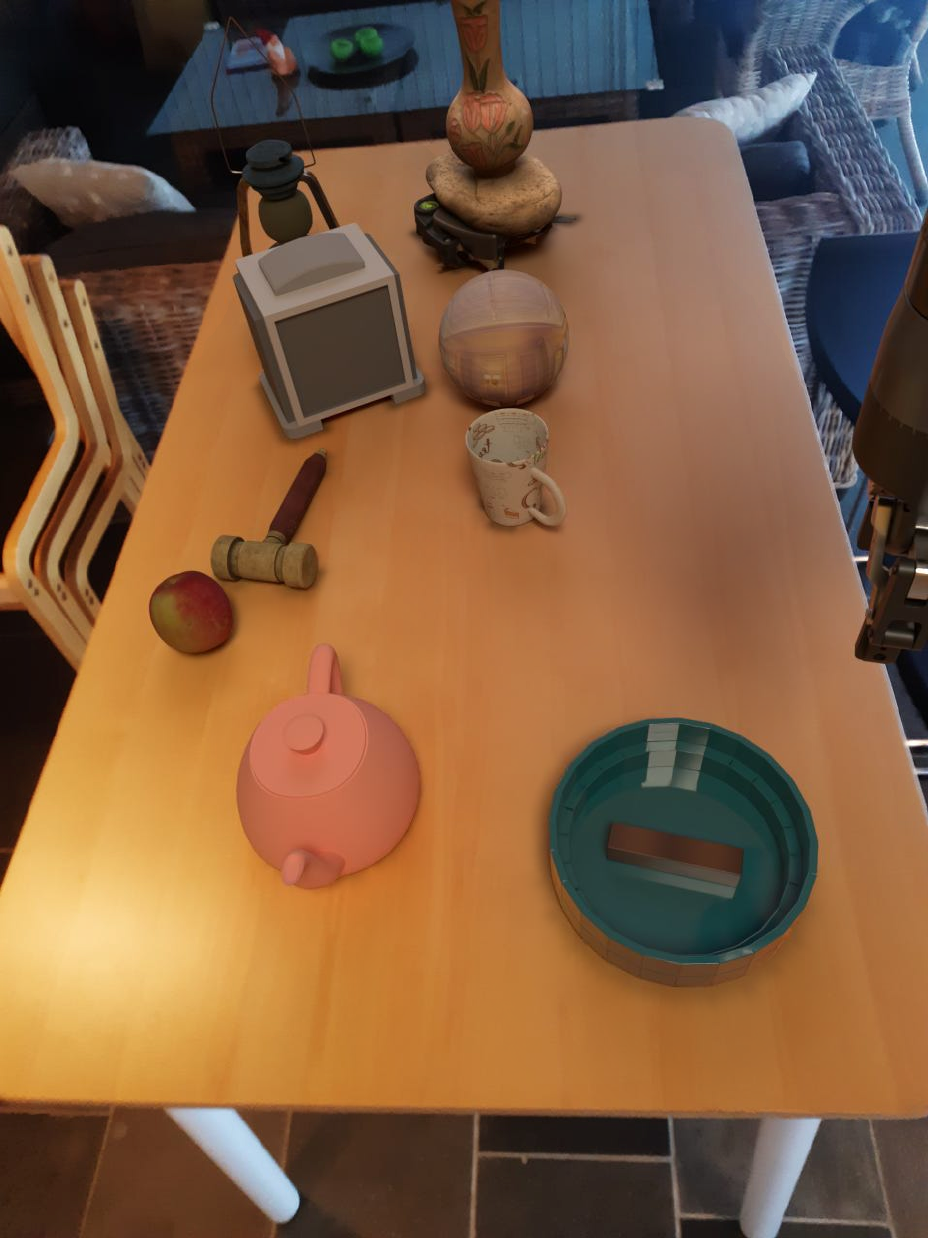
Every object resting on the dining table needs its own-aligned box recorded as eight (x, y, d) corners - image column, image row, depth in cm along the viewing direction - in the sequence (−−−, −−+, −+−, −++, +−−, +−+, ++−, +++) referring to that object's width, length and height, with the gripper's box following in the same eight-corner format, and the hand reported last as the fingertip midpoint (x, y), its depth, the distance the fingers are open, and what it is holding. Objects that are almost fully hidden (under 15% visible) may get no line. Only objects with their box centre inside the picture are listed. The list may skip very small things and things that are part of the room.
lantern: (361, 273, 127) (302, -11, 100) (353, 320, 120) (287, 29, 93) (266, 281, 129) (181, 3, 101) (252, 328, 121) (157, 43, 94)
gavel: (279, 430, 102) (360, 436, 100) (288, 461, 105) (367, 468, 103) (204, 556, 89) (296, 566, 87) (218, 587, 92) (306, 597, 90)
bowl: (806, 778, 72) (822, 742, 68) (794, 1020, 62) (812, 996, 57) (576, 735, 77) (576, 699, 72) (526, 953, 66) (523, 926, 61)
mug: (513, 469, 99) (507, 397, 91) (596, 523, 92) (598, 450, 85) (458, 508, 96) (448, 437, 88) (541, 567, 90) (537, 496, 82)
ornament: (592, 376, 107) (594, 262, 96) (524, 448, 101) (517, 335, 89) (492, 342, 114) (482, 231, 102) (422, 407, 107) (402, 297, 95)
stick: (739, 861, 68) (744, 848, 66) (737, 888, 67) (741, 876, 65) (610, 834, 71) (611, 821, 69) (606, 859, 69) (606, 847, 68)
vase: (393, 279, 125) (342, -8, 98) (431, 200, 138) (395, -73, 111) (557, 285, 120) (552, -17, 93) (580, 202, 133) (581, -84, 106)
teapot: (421, 938, 68) (395, 878, 58) (231, 947, 69) (174, 889, 59) (426, 697, 81) (405, 616, 72) (266, 708, 82) (225, 629, 73)
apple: (242, 599, 91) (217, 547, 85) (243, 661, 86) (216, 610, 80) (169, 613, 91) (139, 562, 85) (166, 677, 86) (133, 627, 80)
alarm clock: (392, 338, 117) (366, 202, 102) (428, 392, 109) (406, 253, 94) (260, 382, 114) (214, 249, 99) (288, 442, 106) (242, 306, 91)
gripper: (1071, 499, 35) (946, 709, 48) (1036, 293, 43) (937, 521, 56) (870, 480, 37) (802, 687, 50) (872, 287, 45) (812, 508, 58)
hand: (873, 599), depth 53 cm, fingers open, 8 cm apart
